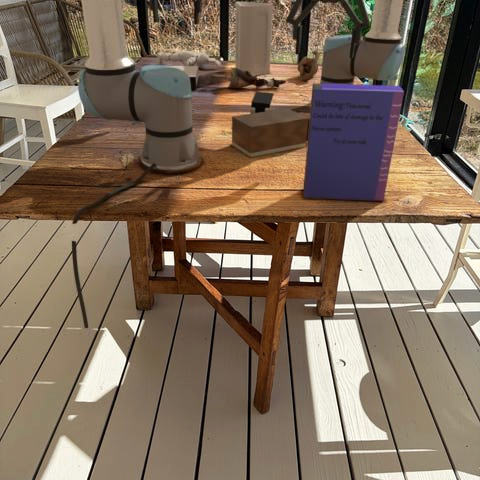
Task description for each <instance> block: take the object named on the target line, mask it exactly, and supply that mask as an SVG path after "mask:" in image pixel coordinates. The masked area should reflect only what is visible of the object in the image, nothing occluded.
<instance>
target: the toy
mask: <svg viewBox="0 0 480 480" xmlns="http://www.w3.org/2000/svg"><path fill="white" fill-rule="evenodd" d="M165 62H180V63H182V64H184V65H183V66H193V65H194V64H196V66H198V68H200V69H201V68H204V65H209V64H210V63H211V64H215V65H216V66H218V67H220V66H222V63H221V62H220V61H219V60H218V59H217V58H210V56H209V55H208V54H206V53H204V52H203V51H199V52H198V53H197V52H194V51H191V50H185V51H179V52H174V53H171V52H168V51H167V52H164V51H160V52H157V53H156V62H155V63H156V64H155V65H156V66H158V65H164V63H165Z"/></svg>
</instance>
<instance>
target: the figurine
mask: <svg viewBox="0 0 480 480" xmlns="http://www.w3.org/2000/svg"><path fill="white" fill-rule="evenodd" d="M230 69H231V72H230V73H231V74H230V76H229V75H225V74H213V73H211V74H210V78H209V85H212V84H213V83H214V79H215V78H216V79H223V80H227V81H229V84H228V88H229V89H241V88H247V87H249V86H255V87H256V88H262V87H268V88H271V89H273V88H280V86H281V85H284V84H286V83H287V80H285V79H275V78H274V77H272V78H265V77H262V78H261V77H257V76H252V75H251V73H250V72H249V71H245V72H244V71H242V70H240V69H237V68H235V67H232V66H231V67H230Z"/></svg>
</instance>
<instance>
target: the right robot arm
mask: <svg viewBox="0 0 480 480" xmlns="http://www.w3.org/2000/svg"><path fill="white" fill-rule="evenodd" d="M303 1H304V0H295V1H294V3H293V6H292V7H291V9H290V11H289V13H288V15H287V17H286V19H285V22H286V24H287V23H288V24H290V25H292V40H294V41H295V54H294V55H300V54H301V47H302V38H303V37H302V35H303V25H302V24H301V23H302V21H304V19H305V18H306V17H307V16H308V14H310V12H311V11H312V10H313V9H314V8H315V7H316V5H318V3H322V4H327V3H330V4H334V5H335V4H338V3H339V4H340V5H341V6H342V9H343V10H344V11H345V13H346V14H347V16H348V17H349V19H350V21H351V22H352V24H353V25H354V27H355V28H353V29H352V34H341V35H334V36H329V37H328V38H326V39H325V41H324V44H323V45H324V46H323V50H322V63H321V73H320V74H321V75H320V81H319V84H348V85H355V84H354V83H355V78H361V79H362V78H363V79H369V80H376V81H386V82H387V81H392V80H393V79H395V77H396V76H397V74H398V72H399V71H400V68H401V66H402V63H403V60H404V57H405V53H406V46H405V44H403V43H401V42H402V37H401V35H400V33H399V26H400V22H401V15H402V10H403V4H404V0H374V5H373V12H372V19H371V21H370V17H369V15H368V11H367V8H366V5H365V2H364V0H355V1H356V4H357V7H358V10H359V13H360V16H361V19H362V21H361V20H360V18H359V17H358V15H357V14H356V12H355V10H354V9H353V8H352V6H351V4H350V3H349V1H348V0H311V1H310V2H309V3H308V4H307V6H306V7H305V8H304V9H303V10H302V11H301V12H300V14H299V15H298V16H297V17H296V15H297V13H298V11H299V10H300V7H301V5H302V4H303ZM295 17H296V18H295ZM300 24H301V25H300ZM369 26H370V29H369V31H368V32H367V33H366V34H365V35H364V39H363V40H361V37H362V30H363V29H365V28H368V27H369Z"/></svg>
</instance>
